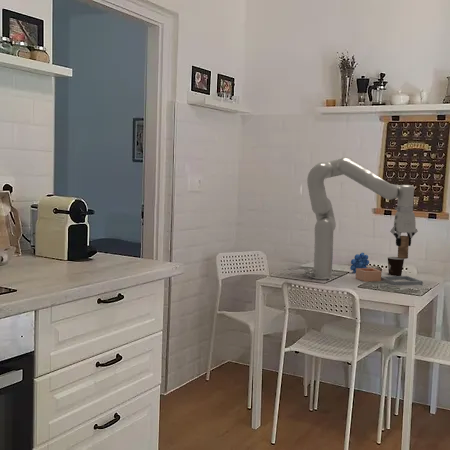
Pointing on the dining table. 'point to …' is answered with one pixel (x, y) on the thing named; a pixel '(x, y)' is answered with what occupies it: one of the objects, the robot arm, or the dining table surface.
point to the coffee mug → (395, 266)
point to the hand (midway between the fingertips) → (403, 245)
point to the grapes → (359, 262)
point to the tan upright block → (403, 247)
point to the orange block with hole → (368, 274)
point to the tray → (410, 281)
